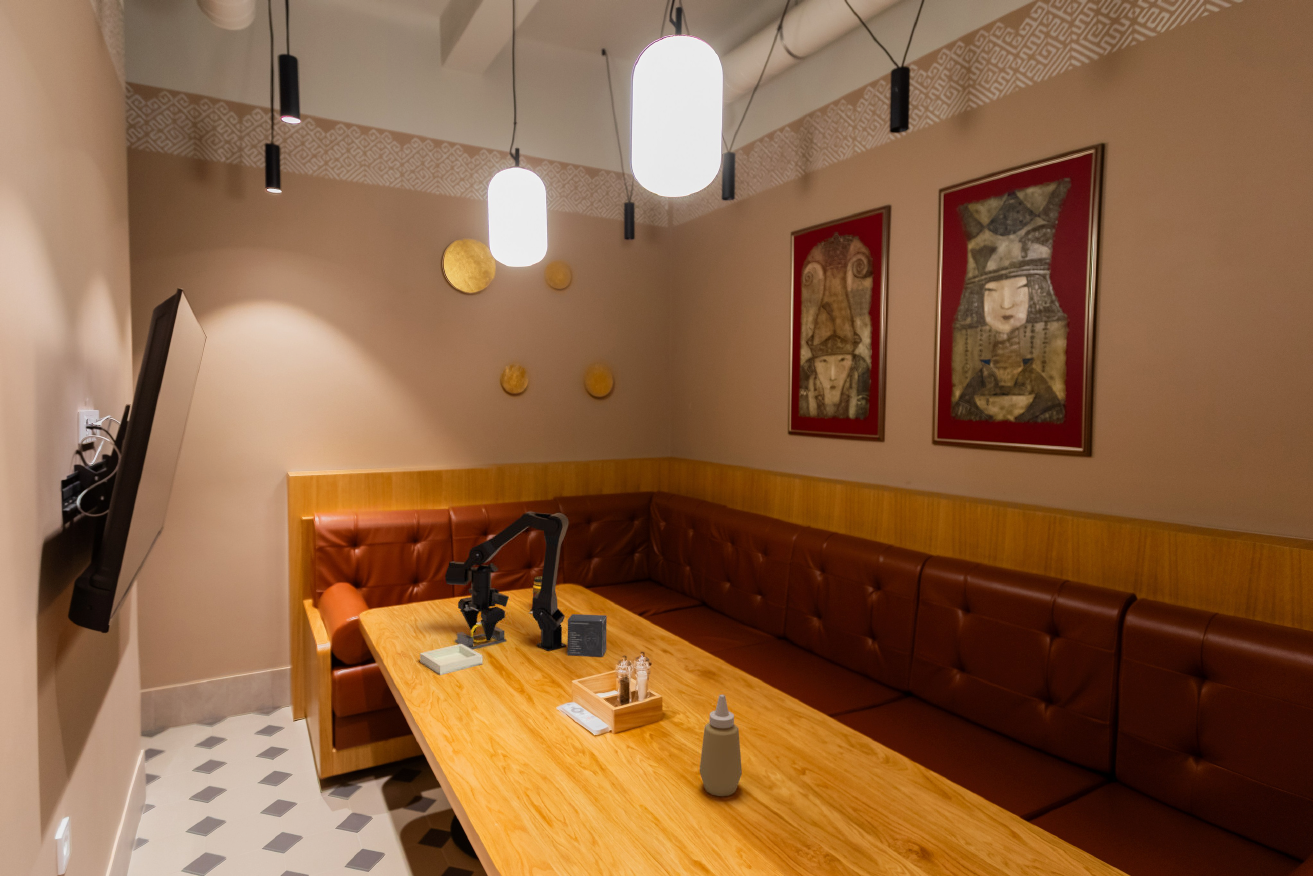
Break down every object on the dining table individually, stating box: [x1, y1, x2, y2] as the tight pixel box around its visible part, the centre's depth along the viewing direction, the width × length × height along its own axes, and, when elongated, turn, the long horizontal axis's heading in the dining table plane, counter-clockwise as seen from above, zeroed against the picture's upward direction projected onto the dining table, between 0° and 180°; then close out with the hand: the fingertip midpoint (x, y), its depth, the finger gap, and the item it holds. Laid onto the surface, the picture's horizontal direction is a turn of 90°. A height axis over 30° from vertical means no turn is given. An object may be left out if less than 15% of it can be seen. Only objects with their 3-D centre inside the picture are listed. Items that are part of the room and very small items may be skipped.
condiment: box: [528, 575, 542, 615], centre depth 250 cm, size 7×8×12 cm
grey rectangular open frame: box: [454, 625, 507, 650], centre depth 217 cm, size 9×12×3 cm
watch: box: [470, 620, 488, 644], centre depth 217 cm, size 6×3×6 cm, turn 120°
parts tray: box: [419, 643, 483, 676], centre depth 199 cm, size 12×12×2 cm
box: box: [566, 613, 608, 658], centre depth 209 cm, size 11×7×10 cm, turn 84°
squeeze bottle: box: [699, 694, 743, 797], centre depth 136 cm, size 8×8×18 cm
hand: (481, 636), depth 217 cm, fingers open, 9 cm apart
